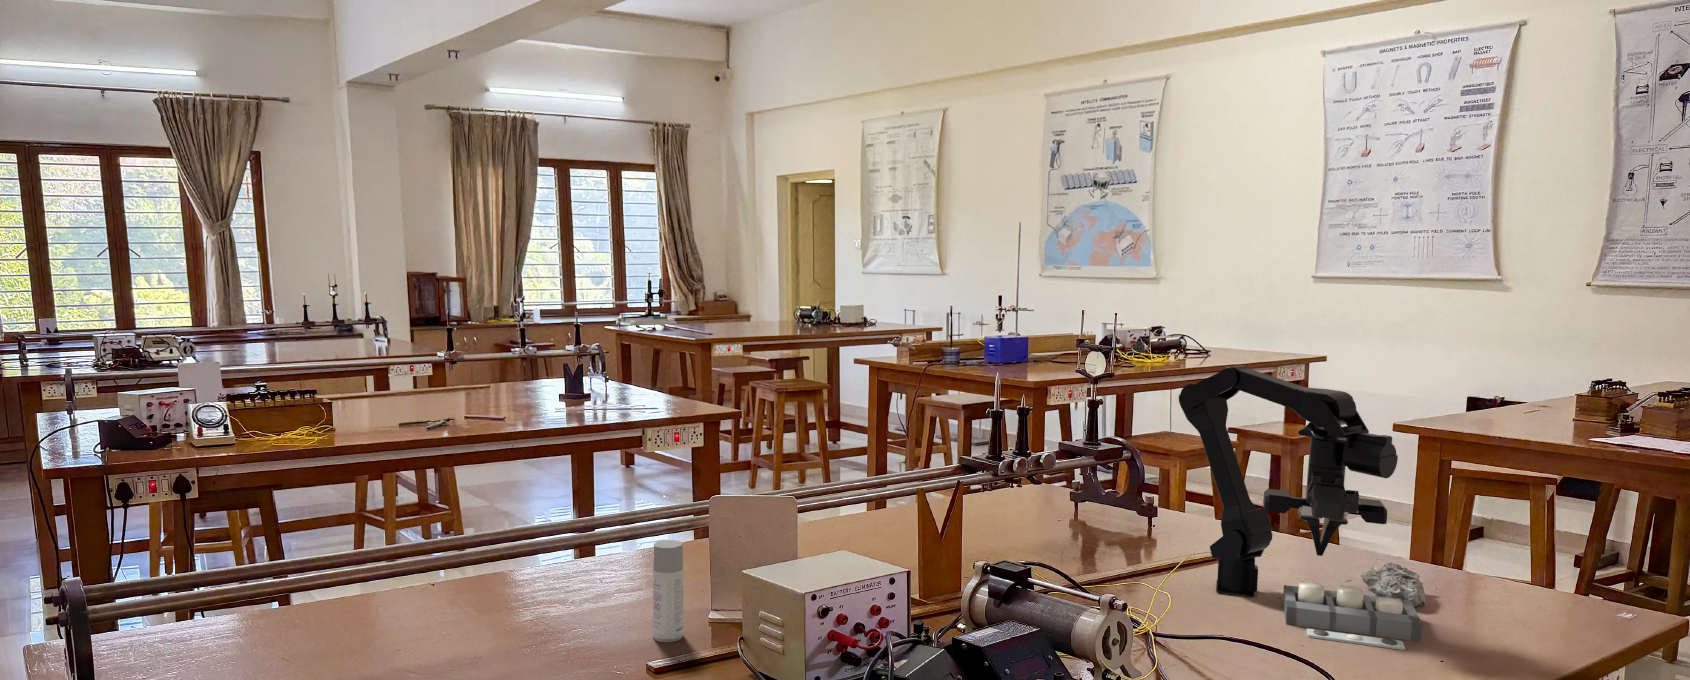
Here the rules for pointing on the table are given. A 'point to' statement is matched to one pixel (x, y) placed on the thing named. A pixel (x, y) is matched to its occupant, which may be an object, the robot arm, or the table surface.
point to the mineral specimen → (1395, 583)
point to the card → (1355, 639)
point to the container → (668, 591)
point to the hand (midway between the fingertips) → (1319, 555)
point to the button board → (1352, 616)
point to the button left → (1311, 592)
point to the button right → (1389, 606)
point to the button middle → (1349, 597)
